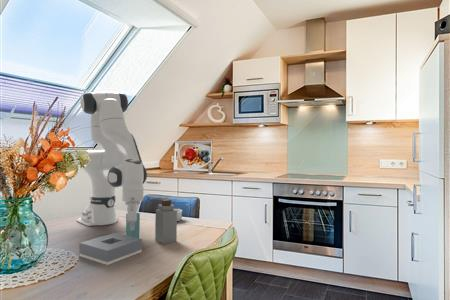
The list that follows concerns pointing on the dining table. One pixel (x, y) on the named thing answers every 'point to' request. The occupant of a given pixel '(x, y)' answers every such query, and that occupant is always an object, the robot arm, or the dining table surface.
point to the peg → (136, 231)
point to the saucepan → (179, 214)
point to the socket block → (110, 248)
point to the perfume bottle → (166, 222)
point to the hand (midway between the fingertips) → (132, 227)
